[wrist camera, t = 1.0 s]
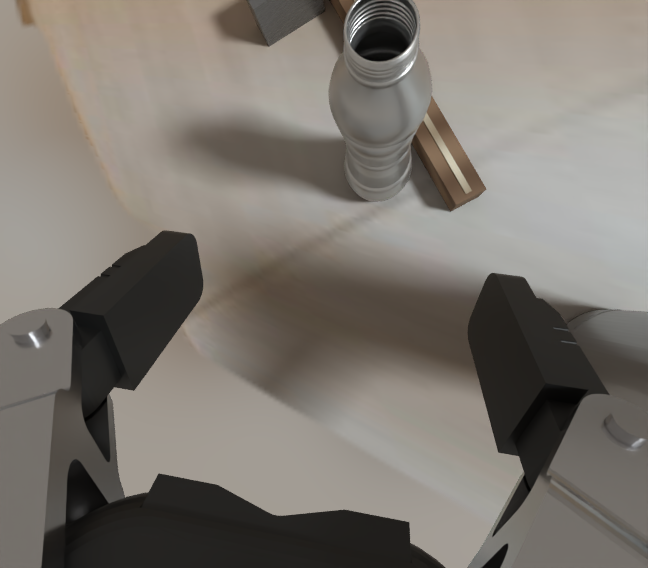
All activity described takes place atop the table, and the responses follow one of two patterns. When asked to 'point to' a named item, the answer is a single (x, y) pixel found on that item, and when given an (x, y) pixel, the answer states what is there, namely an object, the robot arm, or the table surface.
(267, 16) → the metal end stop
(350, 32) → the plastic bottle
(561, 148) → the table surface
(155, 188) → the table surface
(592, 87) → the table surface
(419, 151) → the walnut rail
